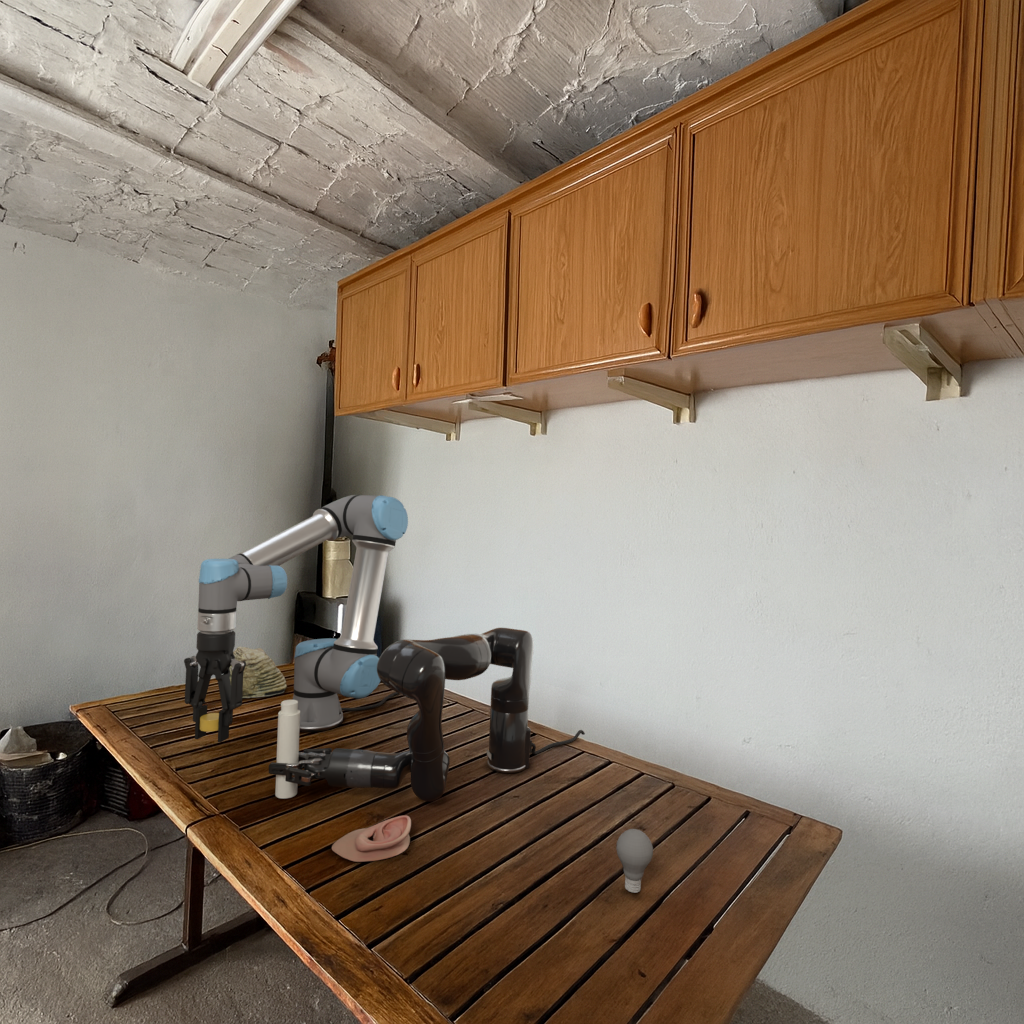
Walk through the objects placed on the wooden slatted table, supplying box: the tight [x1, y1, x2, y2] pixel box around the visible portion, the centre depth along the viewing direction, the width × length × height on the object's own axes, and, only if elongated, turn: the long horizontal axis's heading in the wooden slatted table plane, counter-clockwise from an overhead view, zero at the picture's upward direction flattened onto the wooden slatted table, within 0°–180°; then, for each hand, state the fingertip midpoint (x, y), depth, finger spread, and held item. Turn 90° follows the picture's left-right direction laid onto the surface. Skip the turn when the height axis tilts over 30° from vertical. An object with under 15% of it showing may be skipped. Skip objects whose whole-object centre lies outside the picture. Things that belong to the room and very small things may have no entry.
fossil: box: [229, 646, 288, 699], centre depth 198 cm, size 9×18×15 cm, turn 132°
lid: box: [200, 712, 219, 733], centre depth 137 cm, size 5×5×2 cm
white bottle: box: [274, 699, 300, 800], centre depth 134 cm, size 4×4×20 cm
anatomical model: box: [331, 814, 412, 863], centre depth 116 cm, size 13×4×12 cm
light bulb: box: [615, 828, 654, 894], centre depth 106 cm, size 6×6×10 cm
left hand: (211, 738), depth 137 cm, fingers closed on lid, 5 cm apart
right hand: (274, 763), depth 134 cm, fingers closed on white bottle, 4 cm apart
